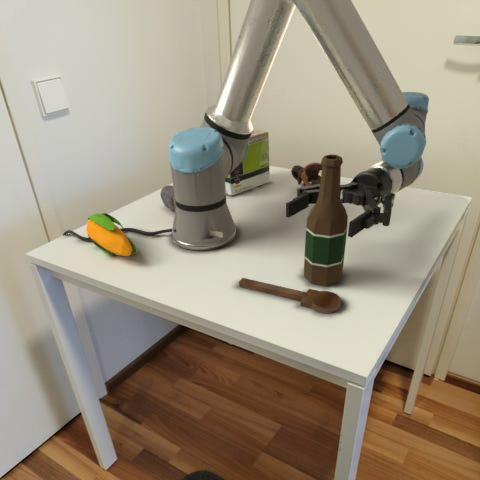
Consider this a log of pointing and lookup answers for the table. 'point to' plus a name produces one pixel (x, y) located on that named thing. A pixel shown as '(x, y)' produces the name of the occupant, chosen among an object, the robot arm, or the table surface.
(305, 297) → the wooden spoon
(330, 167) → the beer bottle
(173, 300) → the table surface
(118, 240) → the corn
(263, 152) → the tea box
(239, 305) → the table surface
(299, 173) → the brown rounded hollow piece
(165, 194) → the perforated stone tool
